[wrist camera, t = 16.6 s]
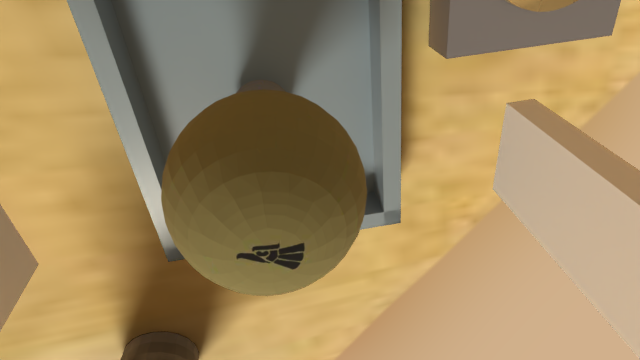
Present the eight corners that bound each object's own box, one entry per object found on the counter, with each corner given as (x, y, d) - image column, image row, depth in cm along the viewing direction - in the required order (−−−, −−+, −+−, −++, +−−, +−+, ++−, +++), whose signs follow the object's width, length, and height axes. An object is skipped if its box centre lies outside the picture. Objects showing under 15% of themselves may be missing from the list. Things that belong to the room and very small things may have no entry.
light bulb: (312, 17, 17) (374, 119, 8) (338, 142, 20) (403, 312, 11) (172, 51, 17) (87, 191, 8) (219, 171, 19) (194, 364, 11)
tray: (72, -63, 15) (43, -60, 13) (381, -99, 16) (402, -101, 13) (176, 228, 22) (168, 261, 20) (386, 194, 23) (400, 222, 20)
